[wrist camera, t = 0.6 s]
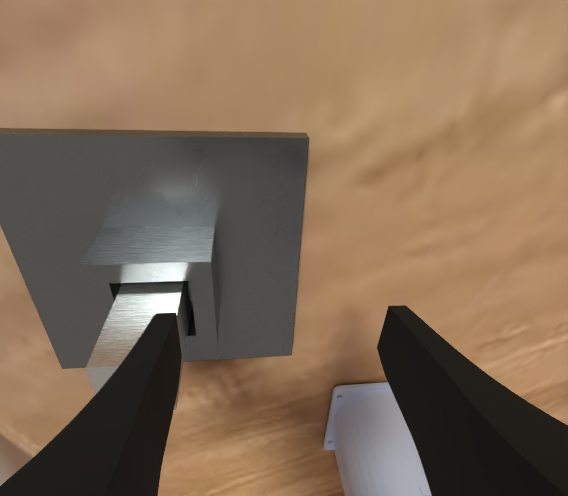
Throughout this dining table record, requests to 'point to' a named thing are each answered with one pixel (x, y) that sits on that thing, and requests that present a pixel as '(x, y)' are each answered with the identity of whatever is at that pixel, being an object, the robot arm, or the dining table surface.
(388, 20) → the dining table surface
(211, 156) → the stand
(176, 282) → the post
